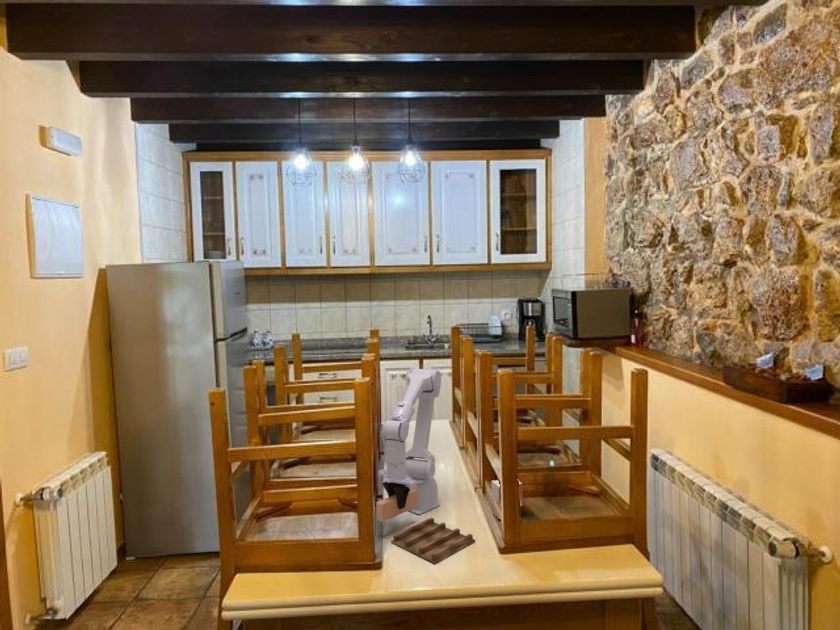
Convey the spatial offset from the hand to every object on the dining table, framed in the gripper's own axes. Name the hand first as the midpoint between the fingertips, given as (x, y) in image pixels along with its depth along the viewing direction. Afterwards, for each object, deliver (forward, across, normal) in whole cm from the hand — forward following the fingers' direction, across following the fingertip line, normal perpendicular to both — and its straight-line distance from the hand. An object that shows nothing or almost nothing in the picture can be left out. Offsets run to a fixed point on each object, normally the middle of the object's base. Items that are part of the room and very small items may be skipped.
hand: (398, 506), depth 165 cm
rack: (+7, +13, +1) cm, 15 cm away
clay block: (+2, 0, 0) cm, 2 cm away
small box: (+7, +18, +28) cm, 34 cm away
